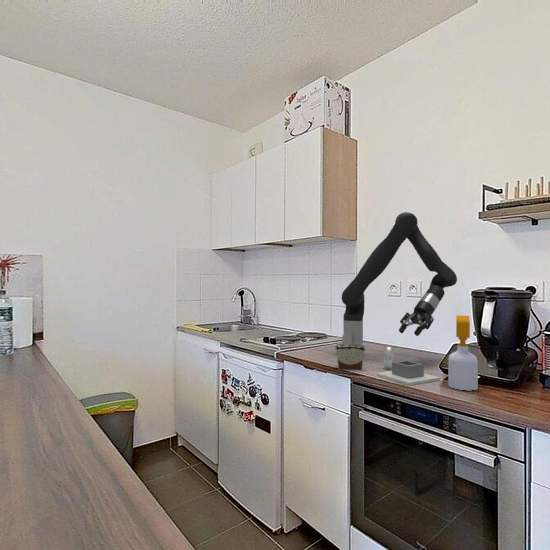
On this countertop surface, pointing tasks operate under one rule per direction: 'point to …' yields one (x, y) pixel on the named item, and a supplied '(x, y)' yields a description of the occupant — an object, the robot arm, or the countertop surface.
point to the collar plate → (408, 373)
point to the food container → (350, 356)
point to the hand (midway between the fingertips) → (407, 333)
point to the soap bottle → (463, 360)
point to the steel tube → (388, 357)
